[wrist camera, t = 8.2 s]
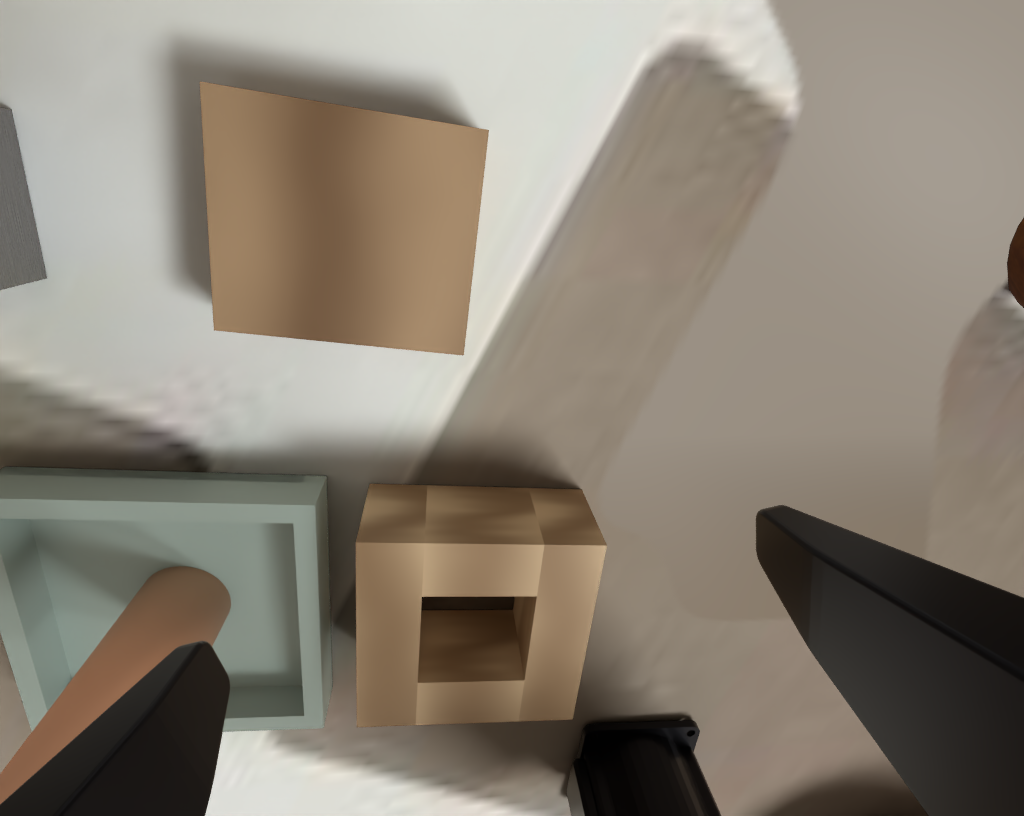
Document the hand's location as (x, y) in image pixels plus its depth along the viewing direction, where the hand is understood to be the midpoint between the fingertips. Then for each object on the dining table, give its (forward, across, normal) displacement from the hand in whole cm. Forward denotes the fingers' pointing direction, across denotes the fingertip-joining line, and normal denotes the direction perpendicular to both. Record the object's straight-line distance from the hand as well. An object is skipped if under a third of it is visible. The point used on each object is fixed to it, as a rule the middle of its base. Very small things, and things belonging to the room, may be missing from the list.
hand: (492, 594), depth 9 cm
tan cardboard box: (+14, +3, -5) cm, 15 cm away
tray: (+13, +14, +8) cm, 21 cm away
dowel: (+13, +14, +8) cm, 20 cm away
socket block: (+13, +2, +10) cm, 17 cm away
